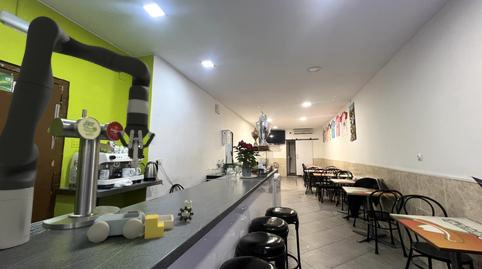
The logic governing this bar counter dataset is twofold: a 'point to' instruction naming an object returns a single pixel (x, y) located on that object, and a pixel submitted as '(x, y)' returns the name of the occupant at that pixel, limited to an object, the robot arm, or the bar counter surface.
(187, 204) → the valve
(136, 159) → the pin
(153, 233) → the block
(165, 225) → the tray
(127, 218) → the trolley
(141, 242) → the bar counter surface
